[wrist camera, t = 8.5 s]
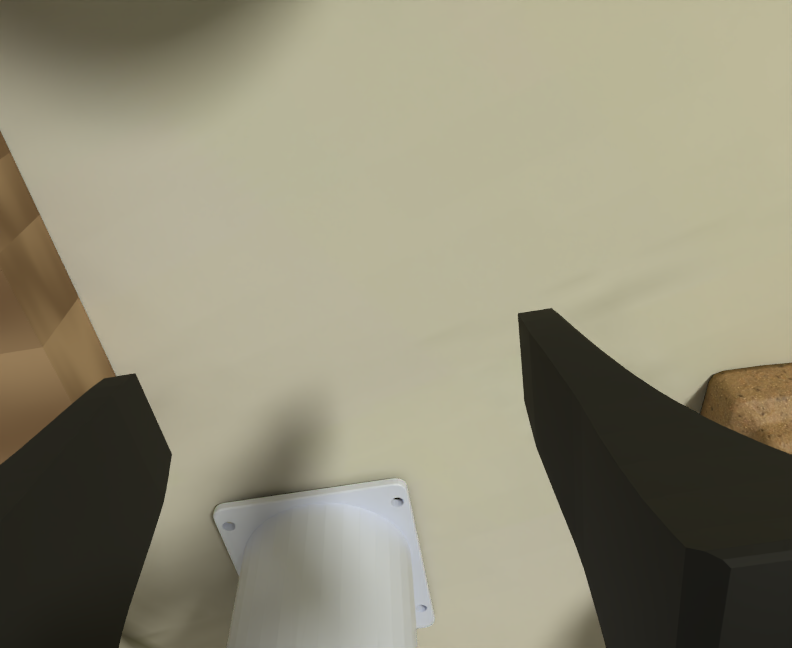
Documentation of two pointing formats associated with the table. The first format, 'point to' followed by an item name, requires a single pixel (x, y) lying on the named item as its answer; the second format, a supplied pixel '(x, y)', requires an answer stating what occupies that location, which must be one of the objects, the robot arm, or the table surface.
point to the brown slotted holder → (37, 321)
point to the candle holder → (753, 403)
